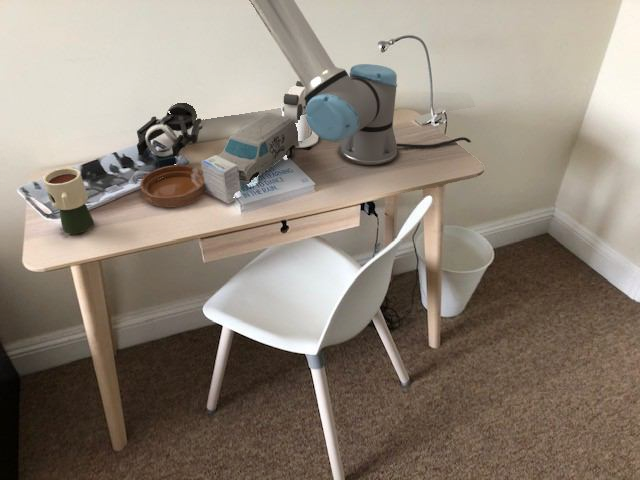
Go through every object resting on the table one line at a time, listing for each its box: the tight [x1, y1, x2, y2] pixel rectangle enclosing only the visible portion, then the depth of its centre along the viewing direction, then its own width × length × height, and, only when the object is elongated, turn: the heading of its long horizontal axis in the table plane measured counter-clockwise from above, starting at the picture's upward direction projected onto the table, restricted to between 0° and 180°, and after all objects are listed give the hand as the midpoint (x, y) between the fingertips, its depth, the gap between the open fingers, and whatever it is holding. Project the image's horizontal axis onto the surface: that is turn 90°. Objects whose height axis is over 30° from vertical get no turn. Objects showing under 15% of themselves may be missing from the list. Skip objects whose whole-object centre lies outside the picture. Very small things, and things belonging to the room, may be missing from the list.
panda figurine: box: [283, 80, 319, 149], centre depth 143 cm, size 12×11×15 cm
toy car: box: [218, 112, 299, 185], centre depth 133 cm, size 11×25×10 cm, turn 151°
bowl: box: [139, 164, 207, 208], centre depth 124 cm, size 15×15×3 cm
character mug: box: [42, 167, 95, 235], centre depth 109 cm, size 11×7×13 cm, turn 20°
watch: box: [145, 124, 179, 169], centre depth 132 cm, size 6×8×11 cm
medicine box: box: [201, 154, 242, 205], centre depth 121 cm, size 8×4×9 cm, turn 50°
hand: (156, 150), depth 128 cm, fingers closed on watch, 8 cm apart
